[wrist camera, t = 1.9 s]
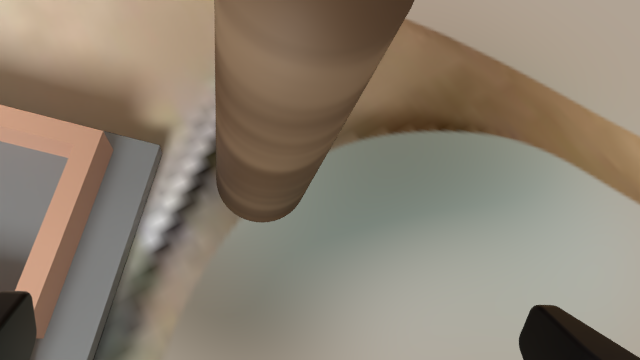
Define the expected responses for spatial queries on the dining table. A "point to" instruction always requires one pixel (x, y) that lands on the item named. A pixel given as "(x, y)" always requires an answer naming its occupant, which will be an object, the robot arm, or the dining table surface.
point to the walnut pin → (289, 91)
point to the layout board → (68, 223)
